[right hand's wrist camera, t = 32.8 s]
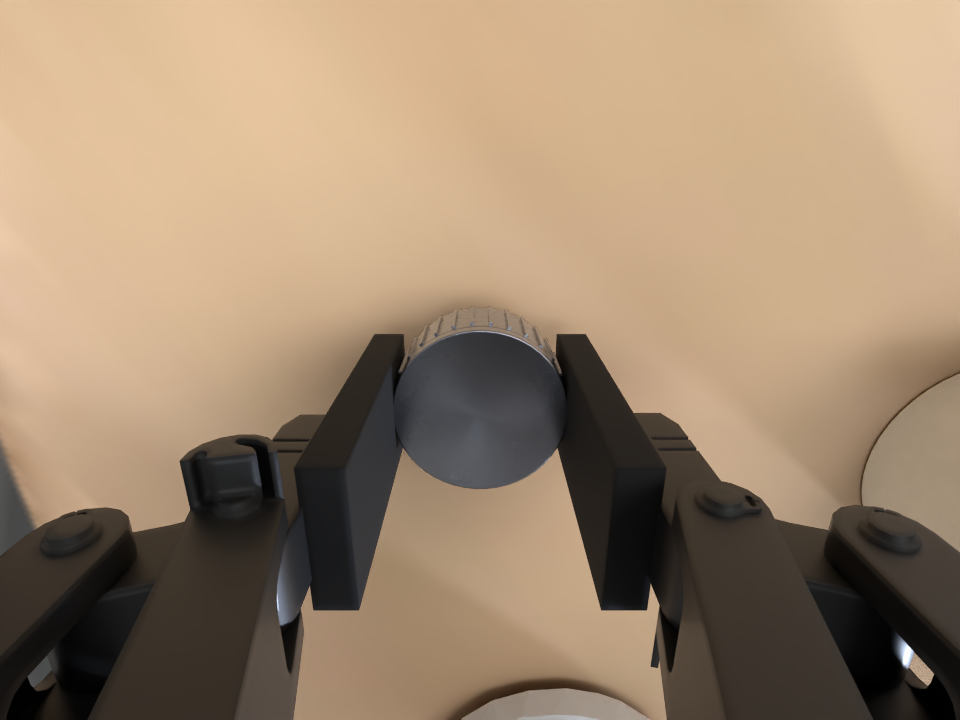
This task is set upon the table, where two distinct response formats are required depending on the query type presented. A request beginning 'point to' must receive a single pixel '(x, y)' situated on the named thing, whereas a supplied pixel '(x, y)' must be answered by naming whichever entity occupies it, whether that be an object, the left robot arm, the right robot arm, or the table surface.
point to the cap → (480, 399)
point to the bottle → (921, 463)
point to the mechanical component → (555, 707)
